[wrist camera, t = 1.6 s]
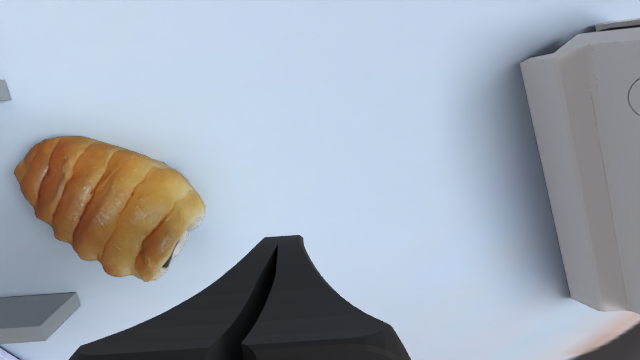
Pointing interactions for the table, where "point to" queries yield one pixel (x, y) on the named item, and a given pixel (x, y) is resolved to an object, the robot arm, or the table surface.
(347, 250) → the table surface
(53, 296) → the chute dock
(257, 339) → the robot arm
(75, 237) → the pastry
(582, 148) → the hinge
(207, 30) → the table surface
